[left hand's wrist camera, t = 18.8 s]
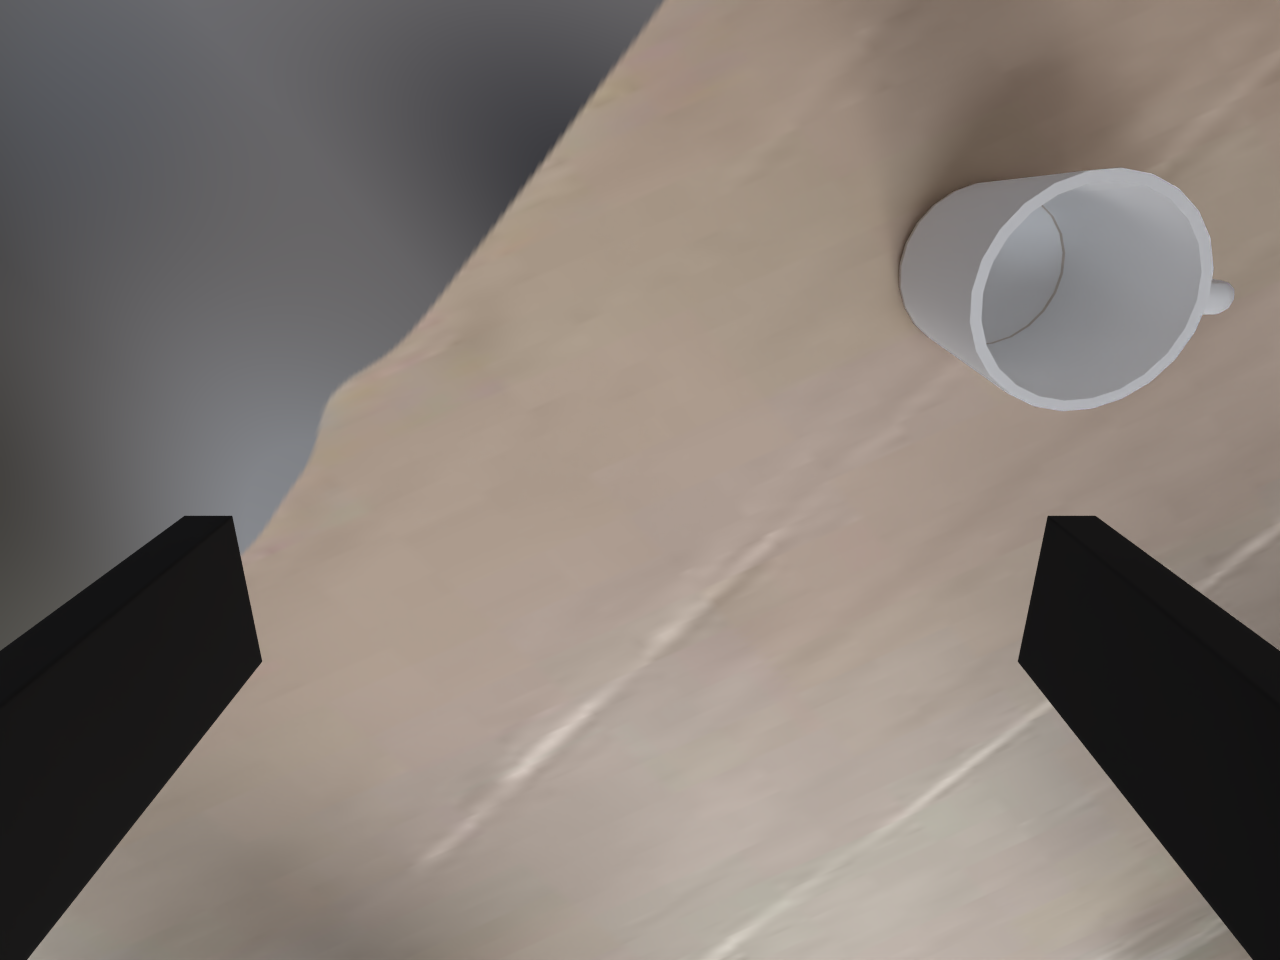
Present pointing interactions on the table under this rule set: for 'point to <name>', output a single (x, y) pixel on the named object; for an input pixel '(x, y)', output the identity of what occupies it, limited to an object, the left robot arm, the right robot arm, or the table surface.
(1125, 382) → the mug
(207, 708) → the left robot arm
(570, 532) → the table surface
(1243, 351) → the table surface
